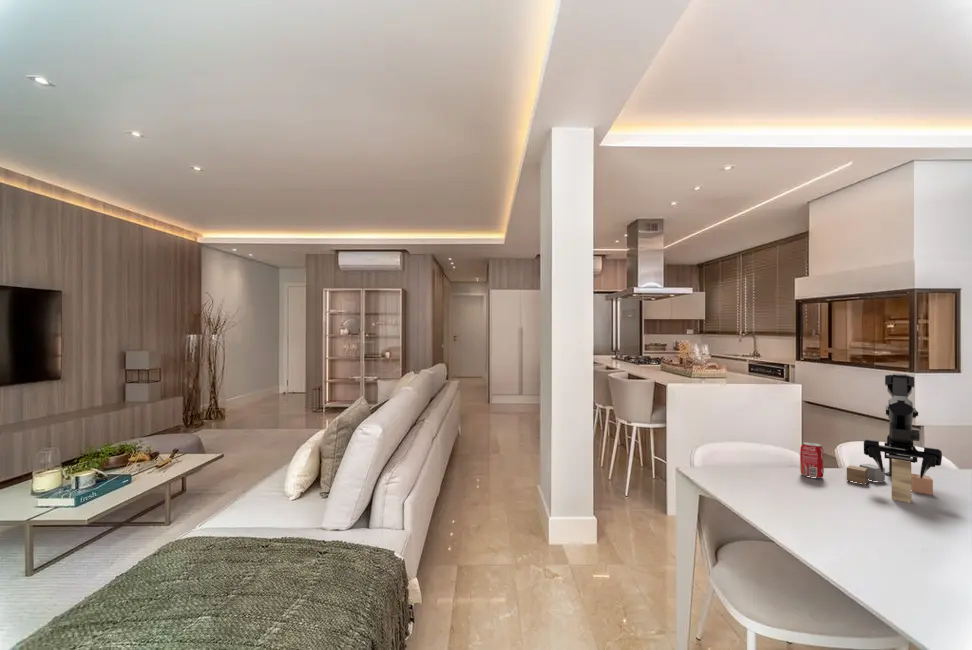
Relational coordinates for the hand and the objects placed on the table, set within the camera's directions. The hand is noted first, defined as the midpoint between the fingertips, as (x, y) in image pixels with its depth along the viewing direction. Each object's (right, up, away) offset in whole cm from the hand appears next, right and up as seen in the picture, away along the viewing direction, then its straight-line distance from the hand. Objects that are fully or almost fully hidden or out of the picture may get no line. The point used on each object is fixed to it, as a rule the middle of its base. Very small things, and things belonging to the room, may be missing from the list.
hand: (901, 474), depth 143 cm
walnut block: (-1, -8, +16) cm, 18 cm away
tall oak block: (0, -8, 0) cm, 8 cm away
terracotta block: (+14, -8, +8) cm, 18 cm away
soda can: (-13, -8, +21) cm, 26 cm away
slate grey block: (+7, -9, +19) cm, 22 cm away
